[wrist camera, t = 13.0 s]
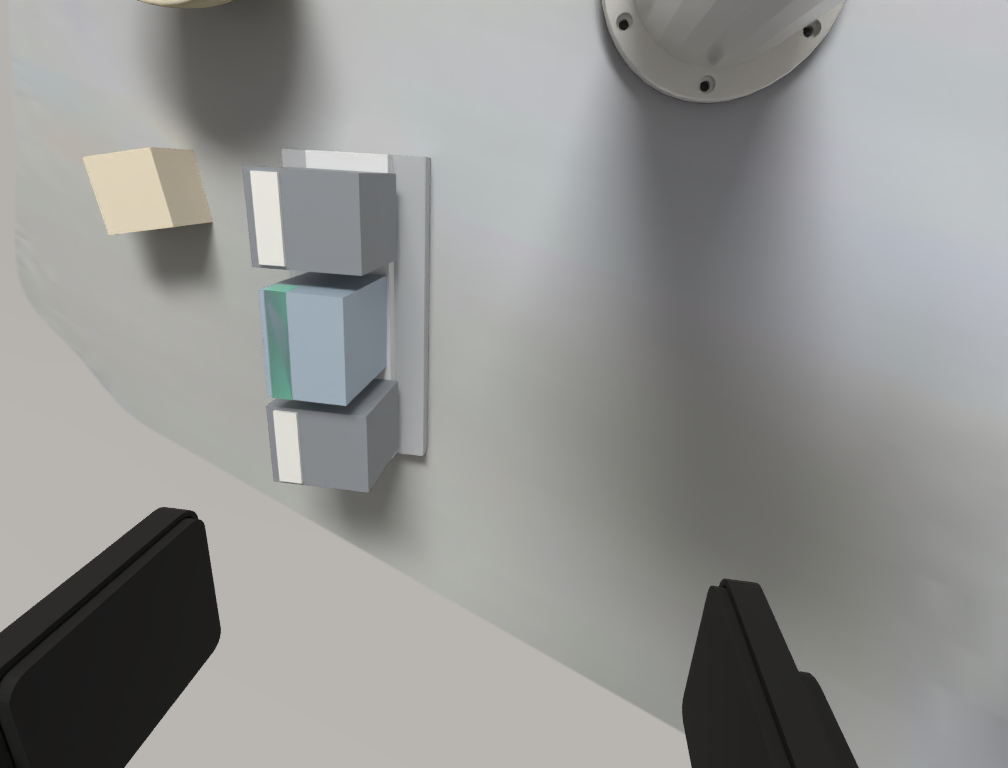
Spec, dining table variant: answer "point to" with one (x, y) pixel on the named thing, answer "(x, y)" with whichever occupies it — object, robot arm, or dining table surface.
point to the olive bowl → (186, 3)
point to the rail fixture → (356, 251)
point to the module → (324, 335)
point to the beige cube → (148, 189)
